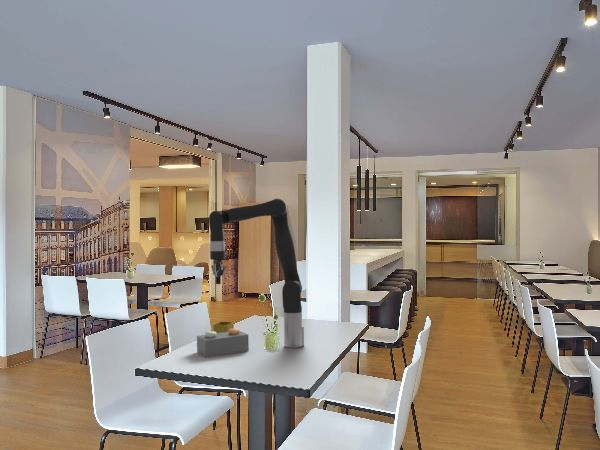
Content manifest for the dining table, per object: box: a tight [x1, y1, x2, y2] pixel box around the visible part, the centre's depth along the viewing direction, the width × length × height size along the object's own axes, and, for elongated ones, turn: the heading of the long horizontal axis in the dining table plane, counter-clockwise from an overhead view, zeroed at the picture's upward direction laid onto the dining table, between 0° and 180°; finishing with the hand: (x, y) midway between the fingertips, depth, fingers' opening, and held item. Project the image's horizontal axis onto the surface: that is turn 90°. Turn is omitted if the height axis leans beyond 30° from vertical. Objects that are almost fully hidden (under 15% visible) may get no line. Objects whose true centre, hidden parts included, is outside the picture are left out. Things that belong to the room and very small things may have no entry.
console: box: [196, 330, 250, 359], centre depth 234 cm, size 22×12×8 cm, turn 121°
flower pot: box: [212, 321, 235, 333], centre depth 260 cm, size 9×9×9 cm
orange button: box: [229, 327, 240, 335], centre depth 237 cm, size 5×5×4 cm
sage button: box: [204, 330, 216, 338], centre depth 231 cm, size 5×5×4 cm
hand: (218, 284), depth 244 cm, fingers closed
